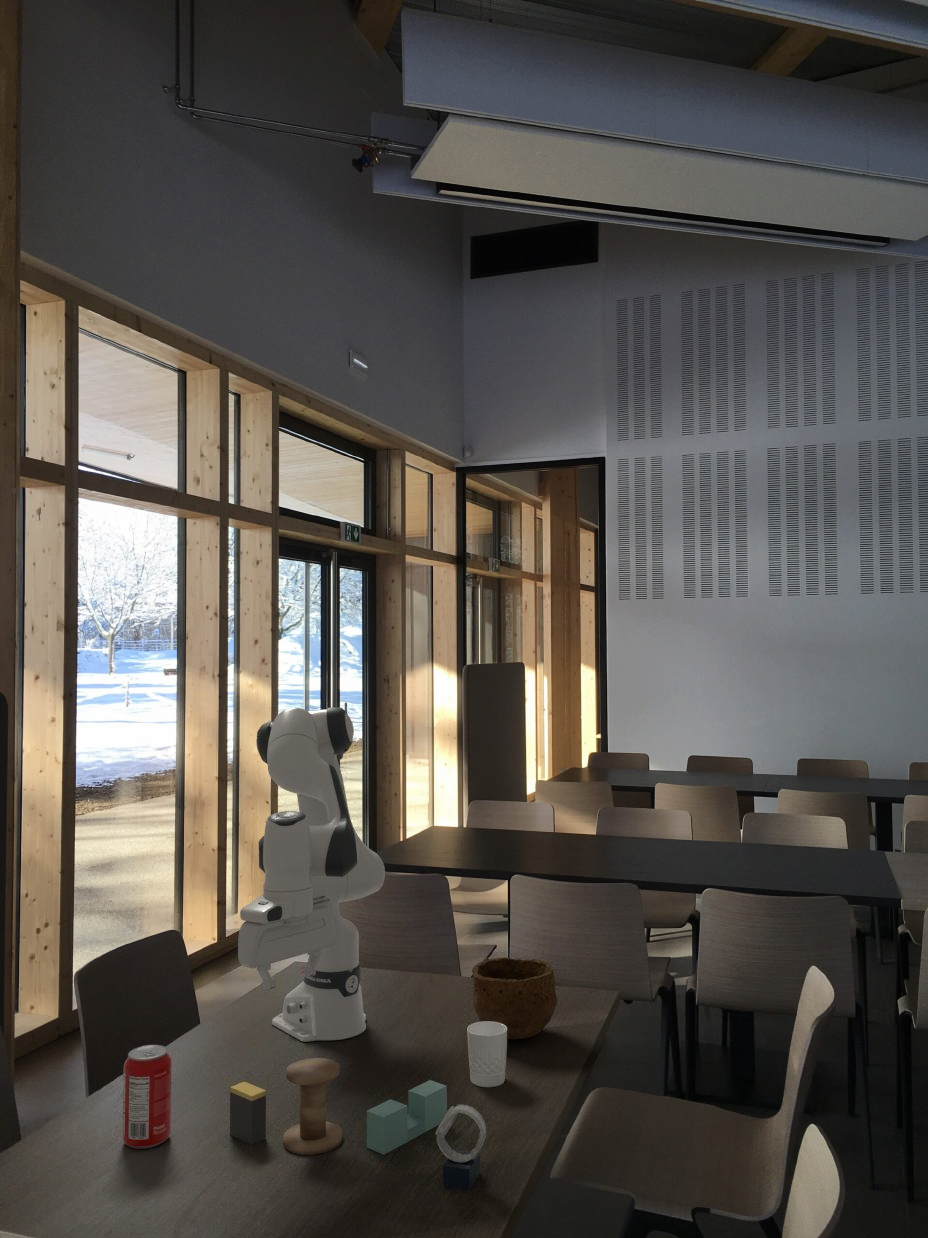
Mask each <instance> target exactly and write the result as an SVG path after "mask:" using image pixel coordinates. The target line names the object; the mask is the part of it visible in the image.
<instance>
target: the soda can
mask: <svg viewBox="0 0 928 1238" xmlns="http://www.w3.org/2000/svg"><path fill="white" fill-rule="evenodd" d="M168 1050H169V1049H168V1048H167V1047H166V1046H165V1045H161V1044H147V1045H142V1046H138V1047H135V1048H133V1049H132V1050H130V1051H129V1052H128V1053H127V1058H126V1060H125V1061H124V1063H123V1082H122V1083H123V1084H122V1086H123V1087H122V1088H123V1090H122V1091H123V1093H122V1095H123V1096H122V1100H123V1101H122V1105H123V1106H122V1142H123V1143H124V1144H125V1145H126V1146H127V1147H131V1148H133V1149H136V1150H137V1149H138V1150H147V1149H151V1148H155V1147H157V1146H159V1145H161V1144H162V1143H164V1142H165V1141H166V1140H168V1138H169V1137H170V1136H171V1133H172V1071H173V1069H172V1067H173V1066H172V1061H173V1060H172V1057H171V1055H170V1054H169V1051H168Z"/></svg>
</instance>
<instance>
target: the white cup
mask: <svg viewBox="0 0 928 1238" xmlns="http://www.w3.org/2000/svg"><path fill="white" fill-rule="evenodd" d="M466 1030H467V1031H466V1033H467V1053H468V1064H469V1076H470V1077H469V1078H470V1079H469V1080H470V1082H471V1083H472V1084H473V1085H475V1086H477V1087H482V1088H493V1087H498V1086H499V1087H500V1086H501V1085H503V1084H504V1082H505V1080H506V1067H507V1053H508V1052H507V1051H508V1049H507V1048H508V1039H507V1027H506V1026H505V1025H504V1024H501V1023H498V1022H491V1021H483V1022H481V1021H477V1022H474V1023H470V1024H469V1025H468V1026H467V1028H466Z"/></svg>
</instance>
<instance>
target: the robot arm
mask: <svg viewBox="0 0 928 1238" xmlns="http://www.w3.org/2000/svg"><path fill="white" fill-rule="evenodd" d="M350 717H351V716H349V713H348V712H347V711H346V710H345V709H343V707H335V706H334V707H333V706H330V707H328V708H327V709H326V708H325V709H314V710H306V709H304V708H301V707H289V708H285V709H283V710H282V711H280V712H279V713H278V714H277V715H276V717H274V718H275V719H271V720H269V721H267V722H265V723H263V724H261V725H260V727H259V728H258V730H257V733H256V743H255V744H256V749H257V753H258V755H259V757H260V759H261V761H262V762H264V763H265V764H266V765H267V772H268V775H269V777H270V778H271V780H272V781H273V782H274V783H275V784H276V785H277V786H278V787H280V788H281V789H283V790H284V791H286V792H289V793H293V794H296V797H297V803H298V804H297V805H298V811H296V810H295V811H294V810H288V811H287V810H285V811H279V812H276V813H273V814H270V815H269V816H268V817H267V819H266V821H265V827H264V834H263V836H262V837H261V838H260V839H259V840H258V868H259V869H260V870H261V871H262V872H263V873H264V874H265V877H264V878H265V879H264V883H263V889H262V890H263V894H261V895H260V896H258V897H257V898H255V900H253V901H251V902H250V903H248V904H246V905H245V906H244V907H242V908H241V909H240V911H239V917H240V920H241V921H244V922H243V923H242V924H241V925H240V928H239V933H238V940H237V941H238V942H237V957H238V963H240V964H241V966H242V967H245V968H248V969H256V971H257V972H258V974H259V976H260V978H261V979H262V989H263V990H265V991H269V990H272V989H275V988H276V977H272V976H271V974H270V971H271V969H272V968H271V967H272V966H271V965H272V964H274V963H278V962H282V961H285V960H288V959H289V960H290V959H291V958H296V957H299V956H303V955H305V954H307V955H308V960H307V963H306V965H304V966H302V967H300V969H301V971H300V972H301V974H302V973H303V977H304V978H303V981H302V982H300V983H299V984H298V985H297V986H296V987H294V988H293V989H292V990H291V991H289V992H288V993H287V995H286V996H285V998H284V1000H283V1005H282V1013H279V1014H278V1015H276V1016H275V1017H273V1018H272V1020H271V1024H272V1026H274V1027H275V1028H278V1029H279V1030H282V1031H283V1032H284V1033H286V1034H288V1035H290V1036H292V1037H294V1038H295V1039H297V1040H298V1041H301V1042H306V1043H307V1042H314V1041H315V1042H316V1041H339V1040H346V1039H349V1038H354V1037H356V1036H359V1035H361V1034H362V1033H364V1032H365V1030H366V1029H367V1024H366V1020H367V1016H366V1013H364V1003H363V994H362V986H361V984H360V982H361V979H362V978H361V977H362V975H361V974H362V968H361V964H360V961H359V960H360V959H359V953H360V952H359V947H360V946H359V944H360V943H359V938H360V937H359V931H358V929H357V927H356V925H355V924H353V922H352V921H350V920H348V919H346V918H343V917H342V916H341V913H340V909H339V905H340V903H344V902H349V901H354V900H358V899H363V898H365V897H367V896H368V897H369V896H370V895H372V894H374V893H376V892H378V891H380V890H381V889H382V887H383V885H384V883H385V879H386V878H385V877H386V870H385V869H386V868H385V864H384V862H383V860H382V858H381V856H379V854H377V852H376V851H373V850H372V849H371V848H369V847H368V846H367V845H366V844H365V843H364V842H363V840H362V839H361V838H360V837H359V835H358V833H357V832H356V831H357V830H356V829H355V827H354V825H353V823H352V819H351V815H350V811H349V806H348V800H347V795H346V790H345V789H346V787H345V784H344V778H343V774H342V771H341V766H340V764H339V761H338V759H339V760H340V761H341V760H342V759H343V758H344V754H345V753H346V752H348V751H349V750H350V748H351V747H352V744H353V741H354V739H353V738H354V735H355V732H354V731H355V729H354V724H353V721H352V719H351V718H350ZM302 969H303V970H302Z"/></svg>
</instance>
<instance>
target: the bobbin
mask: <svg viewBox="0 0 928 1238" xmlns="http://www.w3.org/2000/svg"><path fill="white" fill-rule="evenodd" d="M285 1073H286V1075H285V1076H286V1079H287V1080H288V1081H289V1082H290V1083H292V1084H295V1085H299V1123H298V1124H297V1123H296V1124H294V1125H293V1126H291V1127H289V1128H288V1129H286V1131H284V1133H283V1136H282V1143H283V1147H284V1148H285V1149H286V1151H288V1152H291V1153H294V1154H297V1155H303V1156H305V1155H307V1156H308V1155H309V1156H310V1155H313V1156H314V1155H320V1154H323V1153H328V1152H330V1151H332V1150H335V1149H336V1148H338V1147H339V1146H340V1145H341V1144H342V1141H343V1130H342V1128H341V1127H340V1125H338V1124H336V1123H333V1122H330V1121H327V1120H326V1119H327V1084H328V1083H330V1082H332V1081H334V1080H335V1079H337V1078H338V1077H339V1076H340V1064H339V1063H338V1062H337V1061H335V1060H333V1059H330V1058H324V1057H323V1058H322V1057H321V1058H320V1057H312V1058H305V1059H301V1060H297V1061H295V1062H292V1063H291V1064H289V1065H287V1068H286V1072H285Z"/></svg>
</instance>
